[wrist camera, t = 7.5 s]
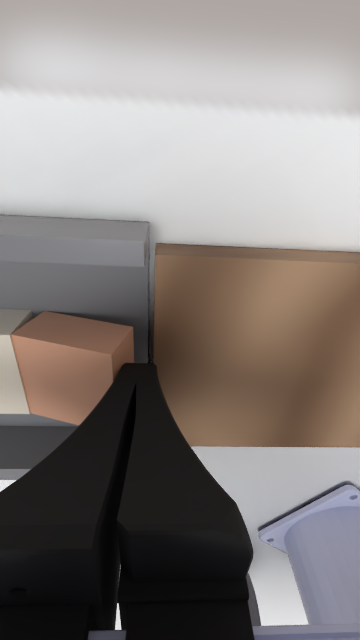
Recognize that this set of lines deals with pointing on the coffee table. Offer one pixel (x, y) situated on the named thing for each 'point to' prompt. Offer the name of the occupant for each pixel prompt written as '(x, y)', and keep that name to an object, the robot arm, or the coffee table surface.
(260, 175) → the coffee table surface
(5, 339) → the cream tile
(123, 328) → the terracotta tile
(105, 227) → the tray
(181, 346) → the brown wooden board
